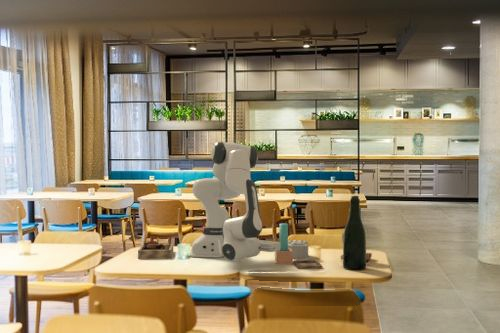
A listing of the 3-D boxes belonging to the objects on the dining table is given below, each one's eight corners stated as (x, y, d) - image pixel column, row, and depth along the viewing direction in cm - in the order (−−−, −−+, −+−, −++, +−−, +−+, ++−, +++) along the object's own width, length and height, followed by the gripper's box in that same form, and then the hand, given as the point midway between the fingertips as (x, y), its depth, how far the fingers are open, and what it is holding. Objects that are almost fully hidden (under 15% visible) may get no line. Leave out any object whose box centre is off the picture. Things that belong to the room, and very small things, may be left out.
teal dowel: (279, 262, 290) (279, 224, 289) (278, 261, 294) (279, 223, 293) (288, 262, 290) (288, 224, 289) (287, 261, 294) (287, 223, 293)
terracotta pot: (276, 265, 288) (276, 251, 288) (274, 262, 295) (274, 248, 295) (292, 265, 288) (292, 251, 288) (290, 262, 296) (290, 248, 296)
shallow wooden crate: (138, 258, 305) (138, 250, 305) (142, 252, 323) (142, 244, 323) (170, 258, 306) (170, 250, 306) (173, 251, 324) (173, 244, 324)
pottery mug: (140, 258, 308) (139, 242, 312) (148, 263, 316) (147, 248, 320) (162, 253, 306) (161, 237, 310) (170, 258, 314) (168, 243, 318)
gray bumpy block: (286, 260, 301) (286, 242, 301) (288, 255, 314) (288, 238, 314) (307, 260, 300) (308, 242, 300) (308, 255, 313) (308, 238, 313)
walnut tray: (297, 270, 276) (297, 266, 276) (293, 264, 290) (293, 260, 290) (322, 270, 277) (322, 265, 277) (317, 264, 291) (317, 260, 291)
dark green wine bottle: (338, 267, 284) (338, 195, 283) (357, 265, 288) (358, 194, 287) (351, 271, 275) (351, 197, 273) (370, 269, 279) (371, 196, 278)
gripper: (270, 241, 264) (288, 237, 275) (232, 237, 277) (251, 233, 288) (270, 256, 265) (288, 252, 276) (232, 251, 277) (251, 247, 288)
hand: (268, 242), depth 282 cm, fingers open, 8 cm apart
